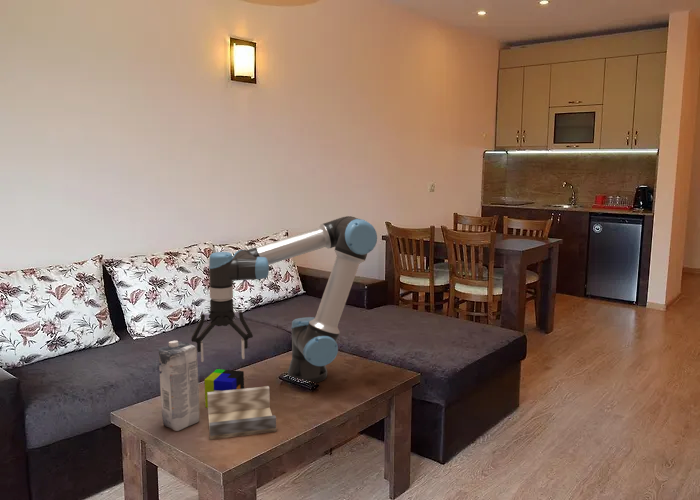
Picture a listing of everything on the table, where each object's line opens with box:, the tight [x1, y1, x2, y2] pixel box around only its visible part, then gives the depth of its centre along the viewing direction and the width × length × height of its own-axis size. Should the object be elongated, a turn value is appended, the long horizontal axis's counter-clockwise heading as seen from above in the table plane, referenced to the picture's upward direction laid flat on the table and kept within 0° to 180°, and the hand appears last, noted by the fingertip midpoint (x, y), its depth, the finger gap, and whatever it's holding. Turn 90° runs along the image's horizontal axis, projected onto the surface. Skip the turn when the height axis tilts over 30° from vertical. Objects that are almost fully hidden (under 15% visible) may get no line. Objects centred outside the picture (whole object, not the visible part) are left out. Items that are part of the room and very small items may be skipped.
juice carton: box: [157, 340, 200, 432], centre depth 184 cm, size 9×10×27 cm
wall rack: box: [207, 385, 277, 440], centre depth 186 cm, size 20×17×8 cm
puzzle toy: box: [204, 368, 245, 409], centre depth 201 cm, size 10×10×10 cm
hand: (222, 359), depth 199 cm, fingers open, 13 cm apart
